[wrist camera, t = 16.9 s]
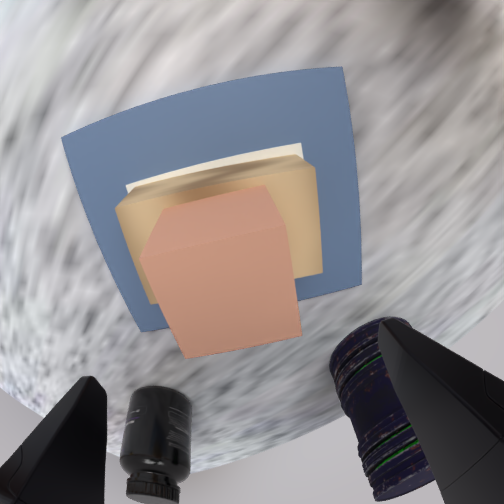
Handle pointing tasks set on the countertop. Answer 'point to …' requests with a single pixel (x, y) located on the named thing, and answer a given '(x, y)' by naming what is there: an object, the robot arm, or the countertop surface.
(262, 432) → the countertop surface
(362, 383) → the storage jar
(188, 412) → the supplement bottle
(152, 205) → the oak brick
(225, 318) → the terracotta cube
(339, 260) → the board
